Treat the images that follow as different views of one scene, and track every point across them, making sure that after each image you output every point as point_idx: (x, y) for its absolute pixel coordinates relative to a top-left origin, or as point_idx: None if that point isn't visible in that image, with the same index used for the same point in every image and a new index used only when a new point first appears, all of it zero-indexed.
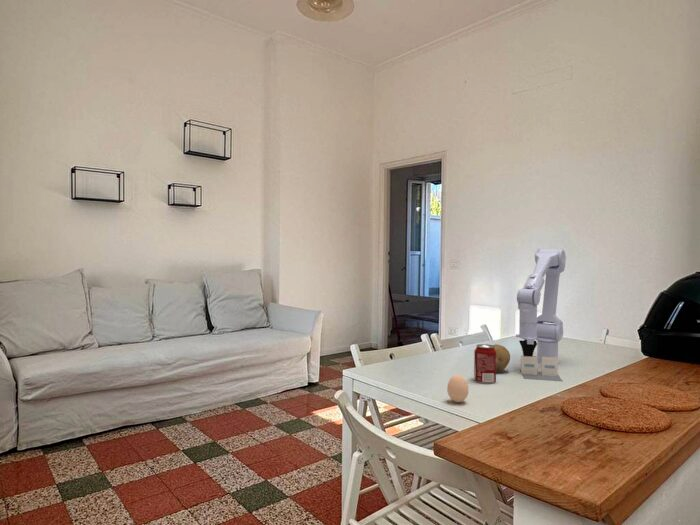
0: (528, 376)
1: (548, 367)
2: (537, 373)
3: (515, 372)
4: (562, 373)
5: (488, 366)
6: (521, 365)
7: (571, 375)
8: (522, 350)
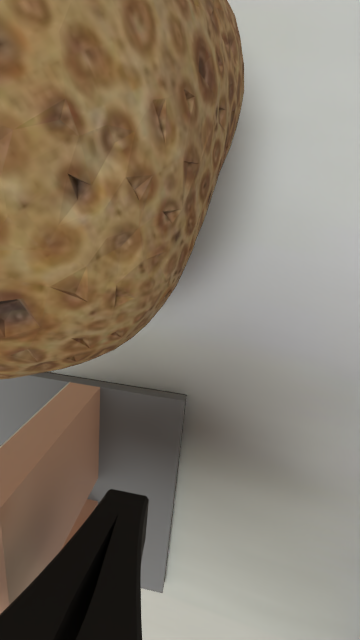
0: (7, 407)
1: None
2: (108, 486)
3: (156, 356)
4: (186, 614)
5: None
6: (36, 421)
7: (147, 632)
8: (122, 628)
